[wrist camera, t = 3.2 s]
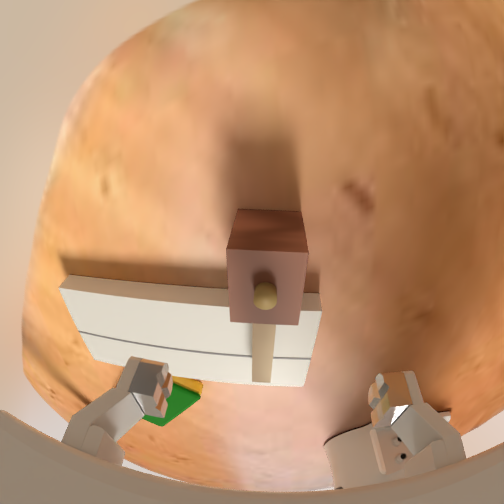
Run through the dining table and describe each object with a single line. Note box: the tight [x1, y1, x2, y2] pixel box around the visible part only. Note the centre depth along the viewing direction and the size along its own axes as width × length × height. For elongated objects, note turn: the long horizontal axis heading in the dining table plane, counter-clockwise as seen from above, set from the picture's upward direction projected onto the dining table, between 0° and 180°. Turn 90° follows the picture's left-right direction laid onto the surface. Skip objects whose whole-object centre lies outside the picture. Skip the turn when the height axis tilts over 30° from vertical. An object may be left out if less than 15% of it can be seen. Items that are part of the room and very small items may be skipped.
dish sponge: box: [142, 376, 203, 426], centre depth 31 cm, size 7×14×2 cm, turn 147°
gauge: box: [226, 209, 309, 383], centre depth 19 cm, size 4×13×6 cm, turn 0°
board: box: [59, 275, 322, 386], centre depth 24 cm, size 22×10×2 cm, turn 90°
